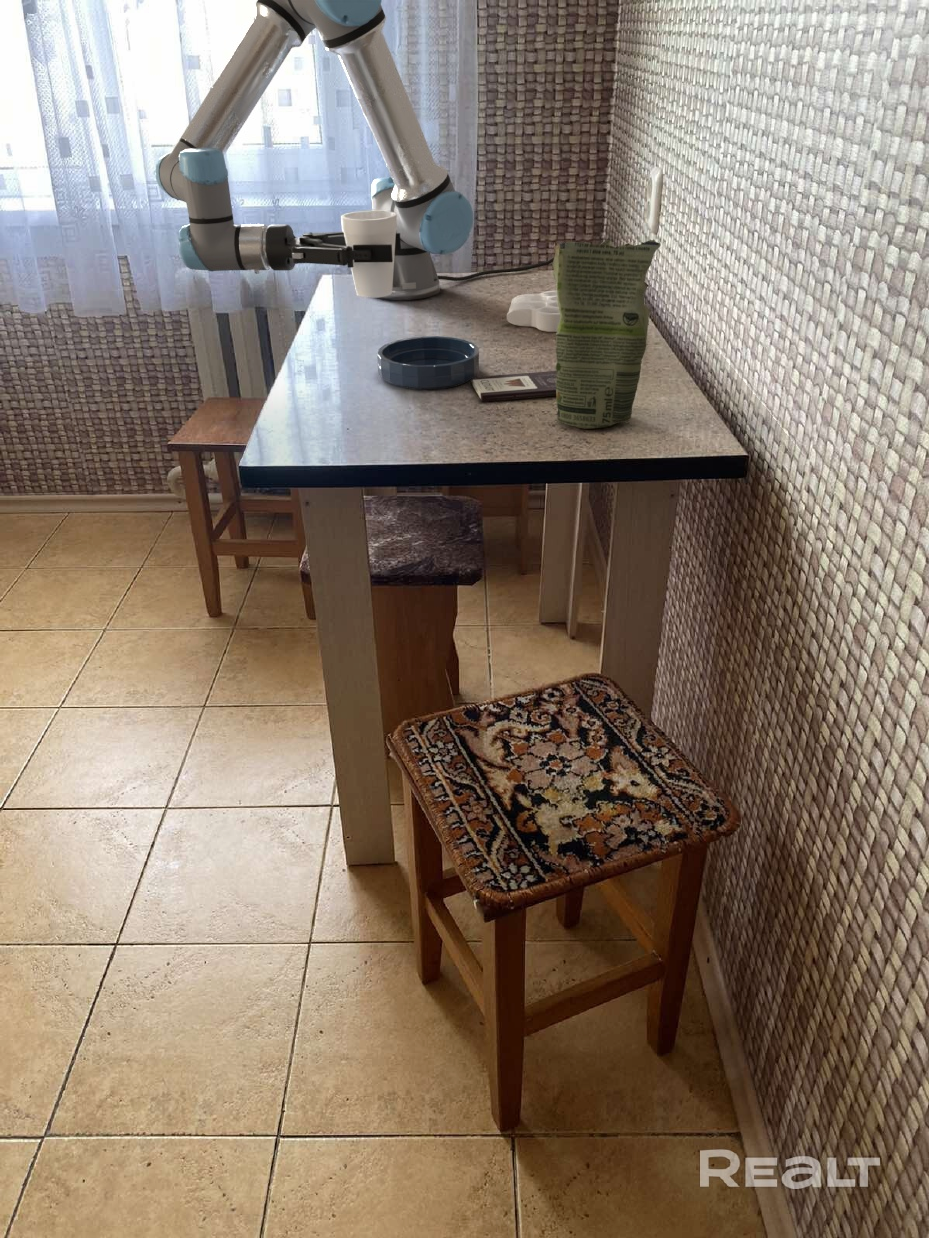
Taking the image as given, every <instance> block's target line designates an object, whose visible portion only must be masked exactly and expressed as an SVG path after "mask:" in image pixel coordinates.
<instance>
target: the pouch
mask: <svg viewBox="0 0 929 1238" xmlns="http://www.w3.org/2000/svg"><path fill="white" fill-rule="evenodd" d="M660 247H661V242H657V241H656V240H655V239H650V240H646V241H644V242H641V243H639V244H637V245H636V244H635V245H634V244H630V243H625V244H623V245H619V246H617V245H616V246H615V247H614V246H612V240H611V238H610V237H607V238H606V239H605V240H604V241H603V242H602V243H600V244H591V243H589V242H584V241H567V242H562V243H559V244H555V245H554V246H553V250H554V257H553V258H554V260H553V262H552V263H551V265H552V268H553V272H552V275H553V280H554V281H555V287H556V288H555V289H556V290H557V299H558V306H559V312H560V322H559V325H558V328H557V332H556V334H555V338H556V343H555V346H556V347H555V353H556V354H555V355H556V365H555V371H557V378H556V394H557V396H555V397H556V399H555V401H556V406H557V407H556V408H557V413H556V415H557V419H556V420H557V421H558V422H560V423H562V424H564V425H566V426H570V427H575V428H579V429H583V430H589V429H600V428H601V429H602V428H608V427H611V426H613V425H616V424H619V423H623V422H624V423H628V424H629V423H630V420H631V418H632V413H633V405H634V402H635V399H636V394H637V391H638V386H639V381H640V377H641V371H642V363H643V358H644V355H645V354H646V353H645V352H646V351H647V337H648V329H649V326H650V312H651V311H650V309H649V307H648V305H645V303H644V297H645V296H644V294H645V293H646V292H647V289H648V287H650V285H649V284H647V282H646V278H647V277H646V276H647V272H648V270H649V269H650V267H651V265H652V262H653V260H654V259H653V258H654V255H655V253H656V252H657V250H658V249H659V248H660Z"/></svg>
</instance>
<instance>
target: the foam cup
mask: <svg viewBox="0 0 929 1238" xmlns="http://www.w3.org/2000/svg"><path fill="white" fill-rule="evenodd" d="M340 222H341V223H340V224H341V232H344V237H345V241H346V246H350V247H352V250H353V245H392V258H393V262H354V260H353V266H354V267H351V268H350V270H351V274H352V275H351V276H352V280H353V284H354V289H355V292H356V296H358V297H360V298H366V299H367V298H368V299H372V298H373V299H375V298H378V297H385V296H388V295H390V294H391V293H392V286H393V270H394V254H395V238H396V230H397V216H396V214H395V213H394V212H390V211H379V210H372V209H371V210H357V211H351V212H346V213H343V214H342V215H340ZM378 299H379V298H378Z"/></svg>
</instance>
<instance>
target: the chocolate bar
mask: <svg viewBox="0 0 929 1238" xmlns="http://www.w3.org/2000/svg"><path fill="white" fill-rule="evenodd" d="M556 378H557V370H549V371H536V372H523V373H521V372H520V373H509V374H496V375H495V374H494V375H483V376H482V375H481V376H475V377H471V379H470V383H471V385H472V388H473V389H474V391H475V392H476V394H477V395H478V397H479V399H480V401H481V402H482V403H483V402H484V403H485V402H496V401H507V400H508V401H509V400H522V399H531V398H532V399H533V398H535V399H536V398H545V397H557V394H556Z"/></svg>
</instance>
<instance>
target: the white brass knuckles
mask: <svg viewBox="0 0 929 1238" xmlns="http://www.w3.org/2000/svg"><path fill="white" fill-rule="evenodd" d="M508 307H509V308H508V311H507V313H506V321H507V322H508V323H509V324H511V325H514V326H519V327H532V328H536V329H537V330H539V331H542V332H548V333H557V328H558V325H559V322H560V312H559V306H558V299H557V289H555V290H546V291H543V292H540V293H532V294H531V293H525V294H519V295H516V296H515V297H513V298H512V299H511V303H510V305H509V306H508Z"/></svg>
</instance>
